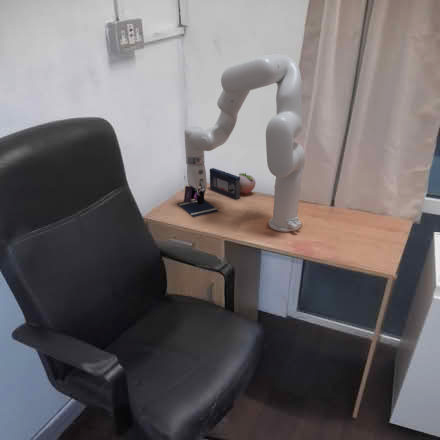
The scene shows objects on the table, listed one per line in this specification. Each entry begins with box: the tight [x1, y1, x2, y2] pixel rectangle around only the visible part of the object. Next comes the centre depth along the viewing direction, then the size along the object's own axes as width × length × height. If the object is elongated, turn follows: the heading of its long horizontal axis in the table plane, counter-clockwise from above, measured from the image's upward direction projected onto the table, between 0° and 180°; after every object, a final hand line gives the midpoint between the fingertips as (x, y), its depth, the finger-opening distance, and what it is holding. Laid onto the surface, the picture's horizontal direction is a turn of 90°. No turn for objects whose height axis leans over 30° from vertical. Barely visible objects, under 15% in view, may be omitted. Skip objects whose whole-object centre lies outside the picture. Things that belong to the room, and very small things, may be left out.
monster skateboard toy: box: [183, 185, 203, 205], centre depth 180 cm, size 7×5×9 cm
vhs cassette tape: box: [209, 167, 241, 200], centre depth 192 cm, size 18×3×10 cm, turn 40°
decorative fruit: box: [238, 172, 256, 195], centre depth 191 cm, size 9×8×10 cm
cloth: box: [177, 199, 219, 218], centre depth 181 cm, size 16×12×1 cm
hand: (197, 201), depth 180 cm, fingers closed on monster skateboard toy, 6 cm apart
